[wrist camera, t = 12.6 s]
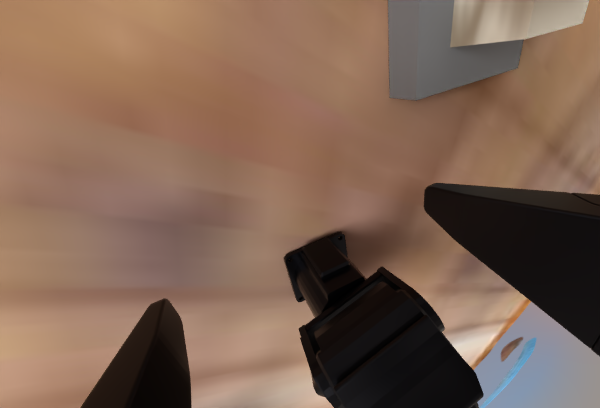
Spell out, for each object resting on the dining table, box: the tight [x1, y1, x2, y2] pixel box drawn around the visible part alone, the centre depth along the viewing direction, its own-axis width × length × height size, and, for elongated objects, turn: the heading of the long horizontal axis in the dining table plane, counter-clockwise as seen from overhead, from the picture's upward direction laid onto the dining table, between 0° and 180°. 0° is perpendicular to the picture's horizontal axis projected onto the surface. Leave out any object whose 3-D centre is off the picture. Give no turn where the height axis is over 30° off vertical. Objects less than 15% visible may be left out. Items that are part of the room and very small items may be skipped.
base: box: [388, 0, 524, 100], centre depth 19 cm, size 11×11×3 cm
